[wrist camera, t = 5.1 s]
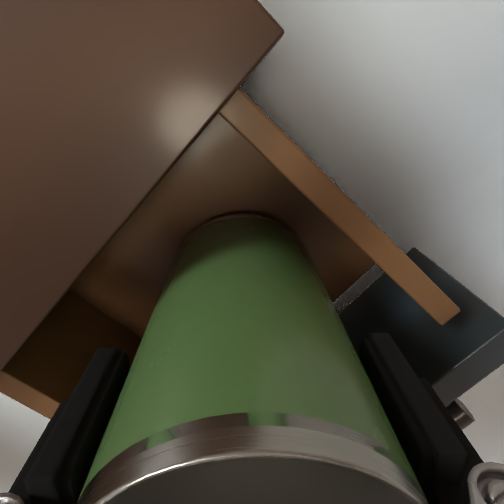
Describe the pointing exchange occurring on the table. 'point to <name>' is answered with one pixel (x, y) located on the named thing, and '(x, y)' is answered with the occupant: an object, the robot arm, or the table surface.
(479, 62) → the table surface
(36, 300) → the cabinet
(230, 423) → the tin can
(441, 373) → the drawer
